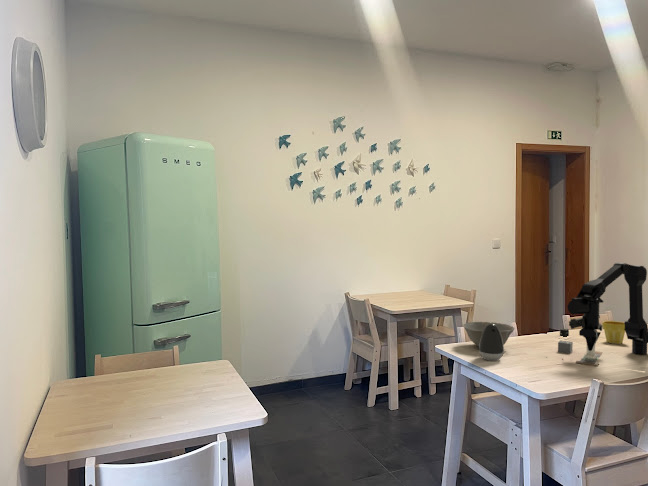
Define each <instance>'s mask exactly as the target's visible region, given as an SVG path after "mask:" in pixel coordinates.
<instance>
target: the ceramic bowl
mask: <svg viewBox="0 0 648 486" xmlns="http://www.w3.org/2000/svg"><path fill="white" fill-rule="evenodd" d="M488 324H495V325H496V326H497V327H498V328H499V330H500V333H501V336H502V340H503V345H505V344H506V343H507V341H508V339H509V338H510V335H512V333H513V332H514V330H515V327H514V326H513V325H512V326H511V325H509V324H506V323H499V322H489V321H470V322H465V323H464V324H463V328H464V329H465V333H466V334H467V336H468V338H469V340H470V341H471V342H472V343H473V344H474V345H475V346H477V347H478V348H479V343H480V338H481V335H482V332H483V330H484V328H485V327H486V325H488Z"/></svg>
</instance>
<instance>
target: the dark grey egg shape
mask: <svg viewBox="0 0 648 486" xmlns="http://www.w3.org/2000/svg"><path fill="white" fill-rule="evenodd" d="M504 345H505V344H504ZM504 345H503V340H502V336H501V333H500V330H499V328H498V327H497V326H496V325H495V324H488V325H486V327H485V328H484V330H483V332H482V335H481V338H480V343H479V347H478V352H479V355H480V356H481V358H483V360H486V361H491V362H492V361H493V362H495V361H499V360H500V359H501V358H502V357H503V354H504V352H505V347H504Z"/></svg>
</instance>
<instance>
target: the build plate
mask: <svg viewBox="0 0 648 486" xmlns="http://www.w3.org/2000/svg"><path fill="white" fill-rule="evenodd" d="M569 329H570V328H569ZM569 329H568V328H560V329H559V336H563V337H567V336H570V331H569Z"/></svg>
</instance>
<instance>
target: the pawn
mask: <svg viewBox="0 0 648 486" xmlns="http://www.w3.org/2000/svg"><path fill="white" fill-rule="evenodd" d="M595 351H596V344H594V346H593V349H592V351H589V350H588V346H587V345H586V353H584V355H583V357H584V358H586V359H588V360H589V359H592V360H595V359H597V358H598V357H597V355H595ZM595 361H596V360H595Z"/></svg>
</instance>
